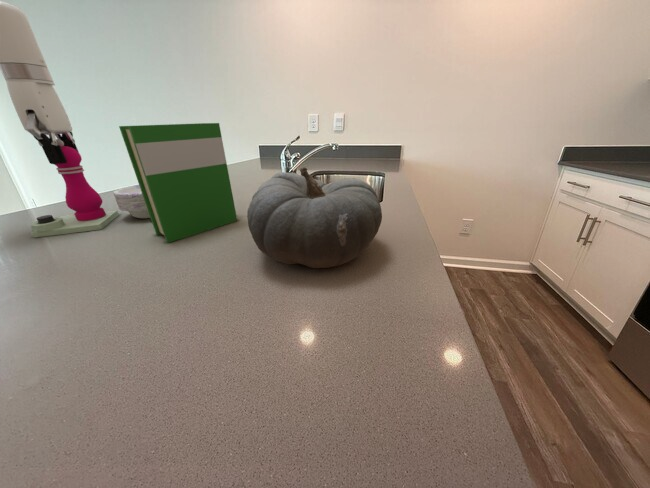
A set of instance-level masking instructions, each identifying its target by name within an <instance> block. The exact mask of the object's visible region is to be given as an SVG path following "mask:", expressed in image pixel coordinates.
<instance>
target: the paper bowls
mask: <svg viewBox="0 0 650 488" xmlns="http://www.w3.org/2000/svg"><path fill="white" fill-rule="evenodd" d="M113 196H114V198H115V202H116V205H117V207H118V208H119V209H118V210H120V211H122V212H123V211H124V212H128V213H129V214H130V215H131V216H132V217H134V218H138V219H151V218H150V215H149V212H148V209H147V206H146V203H145V200H144V197H143V194H142V192H141V189H140V186H139V184H135V185H130V186H125V187H122V188H118V189H116V190H114V191H113Z"/></svg>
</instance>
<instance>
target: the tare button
mask: <svg viewBox="0 0 650 488" xmlns="http://www.w3.org/2000/svg"><path fill="white" fill-rule="evenodd" d="M54 218H55V217H53V215H52V214H46V215H40V216H37V217H36V221H38V222H39V224H45V223H49V222H53V221H55V220H54Z"/></svg>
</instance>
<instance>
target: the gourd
mask: <svg viewBox="0 0 650 488" xmlns="http://www.w3.org/2000/svg"><path fill="white" fill-rule="evenodd" d="M299 172H300V174H299V173H295V172H286V171H285V172H283V171H282V172H277V173H275V174H274V175H272V177H271V178H270V179H268V180H266V181H265V182H263V183H262V184H261V185H260V186H259V187H258V189H257V190H256V192H254V194H253V195H252V198H251V201H250V203H249V206H248V208H247V214H246V215H247V216H246V218H247V226H248V230H249V232H250V235H251V237H252V239H253V241H254V243H255V245H256V247H257V248H258V249H259V251H261V252H262V253H263V254H265V255H266V256H268V257H269V258H271V259H273V260H275V261H277V262H279V263H282V264H285V265H296V264H300V265H302V266H306V267H308V268H312V269H330V268H333V267H340V266H342V265H344V264H346V263H348V262H350V261H352V260H355V259H356V258H357V257H359V256H360V255H361V254H363V252H364V251H365V250H367V248H368V247H369V246H370V245H371V243H372V242H373V240H374V239H375V238H376V236H377V234H378V232H379V229H380V227H381V224H382V220H383V213H382V212H383V211H382V207H381V202H380V200H379V198H378V194H377V192H376V191H375V190H374V188H373V187H372V186H371V185H370V184H369V183H368V182H366V181H364V180H362V179H360V178H355V177H345V178H340V179H338V180H337V179H336V180H334V181H331V182H329V183H327V184H326V183H325V182H323V181H322V180H320V179H314V177H313V176H312V175H311V174H309V172H308V168H307V167H306V166H303V167H300V168H299Z"/></svg>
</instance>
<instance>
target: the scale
mask: <svg viewBox="0 0 650 488" xmlns="http://www.w3.org/2000/svg"><path fill="white" fill-rule="evenodd" d="M105 213H106V215H105V216H103V217H101V218H98V219H94V220H88V221H78V220H77V219H76V217H75V215H74V214H70V215H69V214H68V215H61V216H60V215H59V216H57V217H53V218H54V220H55V221H53V222H49V223H45V224H39V222H38V221H37V220H35V221H33V222H32V223H30V227H31V229H32V231H31V232H30V233H31V235H32V237H33V238H43V237H49V236H50V237H51V236H57V235H58V236H59V235H66V234H67V235H68V234H75V233H76V234H77V233H83V232H91V231H99V230H103V229H104V228H105V227H106V226H108V225H109V224H110V223H111V222H112V221H114V220H115V219H116V218H117V217H118V216H119V215H120V214H119V211H118V210H117V209H116V210H108V211H106V210H105Z"/></svg>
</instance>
